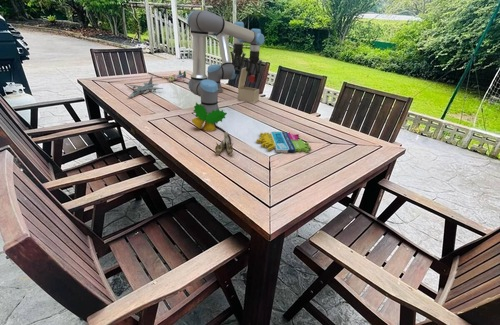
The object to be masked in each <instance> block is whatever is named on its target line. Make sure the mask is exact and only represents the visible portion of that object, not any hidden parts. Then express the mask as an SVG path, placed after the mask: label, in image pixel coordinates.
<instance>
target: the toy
mask: <svg viewBox="0 0 500 325" xmlns="http://www.w3.org/2000/svg"><path fill="white" fill-rule="evenodd" d="M161 77H162V78H161V79H164V78H166V79H165V80H167V81H168V82H174V81H173V80H177V81H182V82H185V78H186V77H187V73H186V70H184V71H183V73H182V71H181V70H178V74H172V75H170V76H164V75H162V76H161Z"/></svg>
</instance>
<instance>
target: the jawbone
mask: <svg viewBox="0 0 500 325" xmlns="http://www.w3.org/2000/svg"><path fill="white" fill-rule="evenodd" d="M223 133H224V134H223V135H224V136H223V140H222V139H221V142H220V144H218V142H215V144H216V146H215V148H214V149H215V152H214V154H215V155H217V156H218V155H220V153H221V152H223V151H224V150H226V152H227V154H228V153H230V154H228V155H229V156H233V155H234V154H233V153H234V148H233V144H234V143H231V145H230V140H228V139H229V137H228V134H229V133H228V131H226V132H223Z"/></svg>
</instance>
